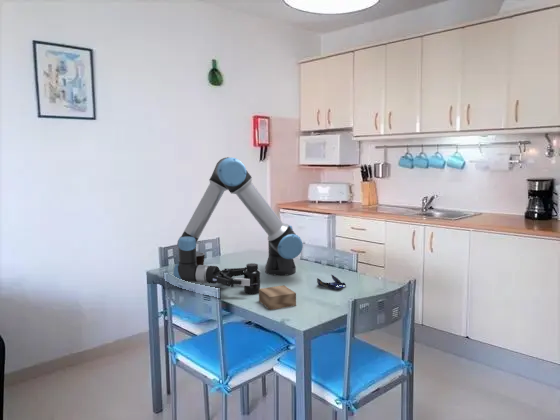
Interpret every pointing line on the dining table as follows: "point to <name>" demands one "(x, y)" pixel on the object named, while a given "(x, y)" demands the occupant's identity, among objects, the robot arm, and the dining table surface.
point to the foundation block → (277, 297)
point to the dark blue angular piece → (332, 284)
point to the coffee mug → (200, 258)
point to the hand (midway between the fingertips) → (255, 277)
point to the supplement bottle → (252, 279)
